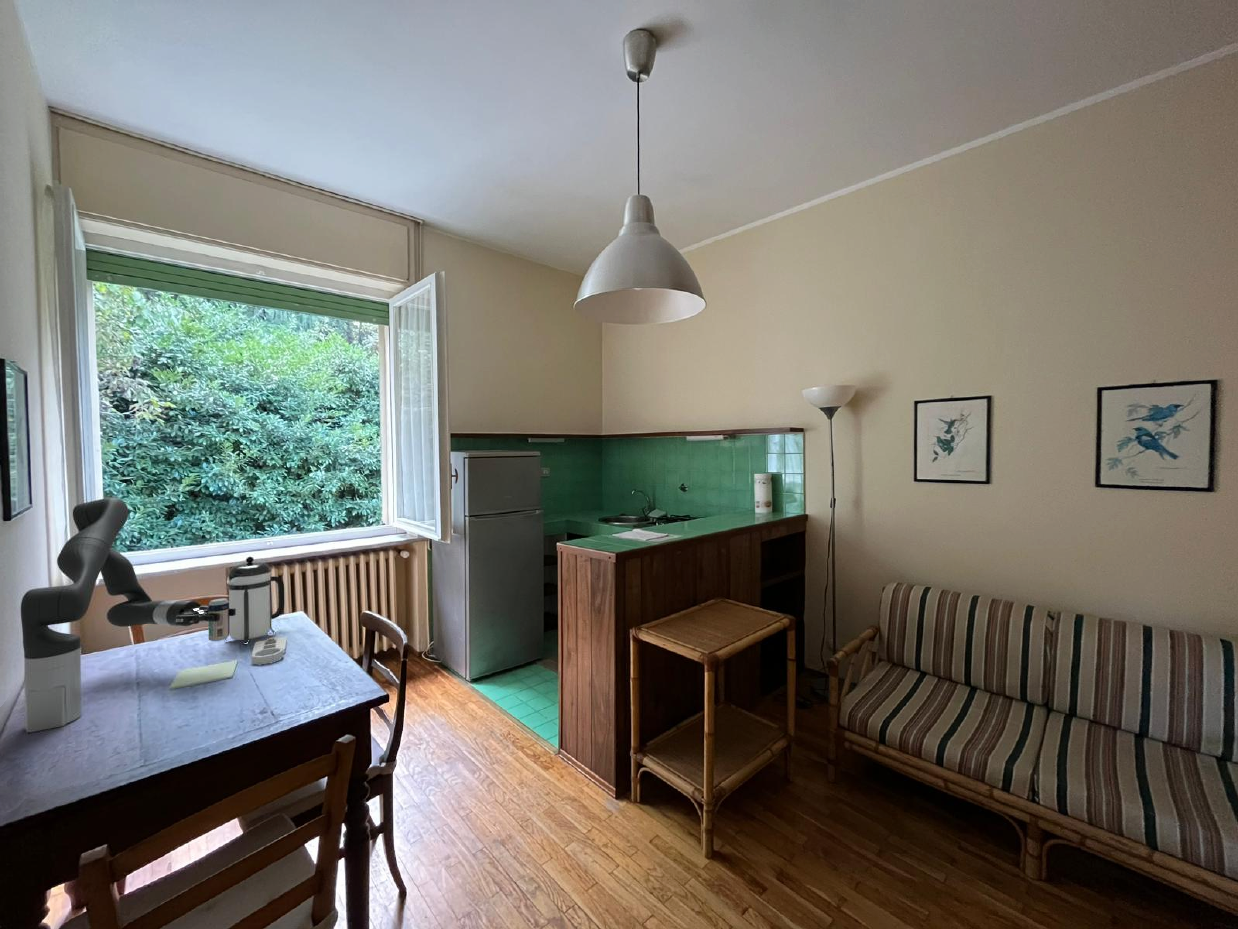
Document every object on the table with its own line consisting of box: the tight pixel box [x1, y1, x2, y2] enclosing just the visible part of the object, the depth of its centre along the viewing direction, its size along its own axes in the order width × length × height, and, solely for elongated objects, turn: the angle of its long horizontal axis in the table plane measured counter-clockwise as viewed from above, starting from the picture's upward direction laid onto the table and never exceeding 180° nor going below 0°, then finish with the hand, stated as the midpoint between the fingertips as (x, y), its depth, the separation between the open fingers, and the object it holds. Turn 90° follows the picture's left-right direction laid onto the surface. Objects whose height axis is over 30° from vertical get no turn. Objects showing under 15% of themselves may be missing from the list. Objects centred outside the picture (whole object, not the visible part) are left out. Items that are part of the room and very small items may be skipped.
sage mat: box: [168, 660, 239, 690], centre depth 149 cm, size 14×14×1 cm
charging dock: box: [251, 636, 287, 665], centre depth 166 cm, size 22×9×2 cm, turn 32°
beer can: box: [208, 597, 230, 642], centre depth 151 cm, size 5×5×12 cm
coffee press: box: [224, 556, 285, 644], centre depth 182 cm, size 17×16×30 cm
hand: (226, 614), depth 151 cm, fingers closed on beer can, 4 cm apart
